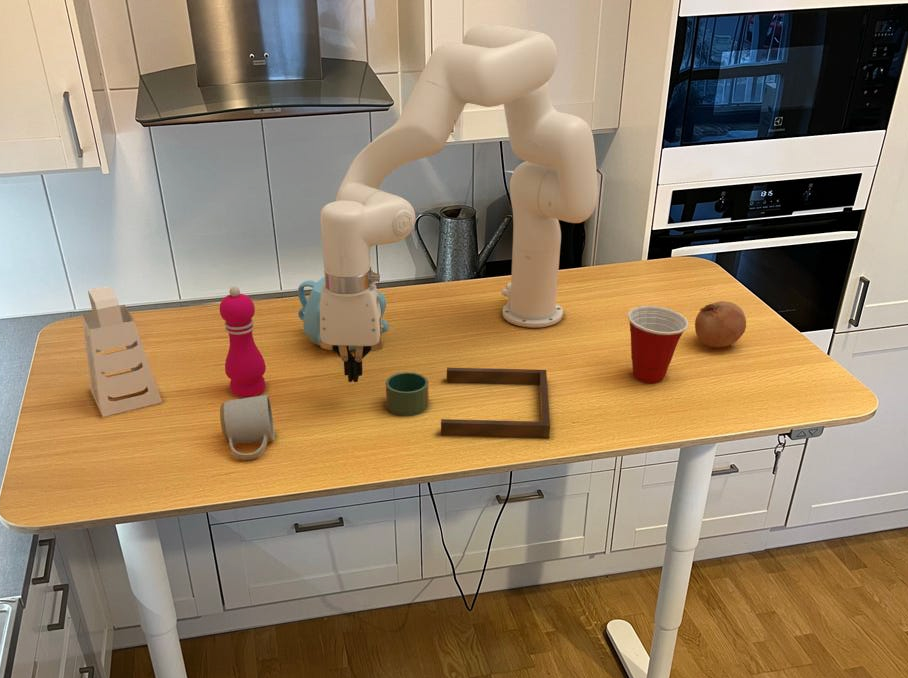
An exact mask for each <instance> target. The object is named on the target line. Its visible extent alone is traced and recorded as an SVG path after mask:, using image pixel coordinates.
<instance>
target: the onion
mask: <svg viewBox="0 0 908 678" xmlns="http://www.w3.org/2000/svg"><path fill="white" fill-rule="evenodd" d="M699 310H700V311H699V312H698V313H697V314H696V317H695V321H694V330H695V331H694V332H695V334H696V337H697V338H698V340H699V341H700V342H701V343H702V344H704V345H705V346H706V347H708V348H711V349H713V348H714V349H716V348H717V349H719V348H726V347H731V346H732V345H733V344H735V343H736V342H737V341H738V340H739V339H741V337H742V336H743V335H744V333H745V332H746V329H747V318H746V314H745V313H744V311H743V309H742V308H741V306H739V305H737V304H736V303H734V302H731V301H716V302H712V303H709V304H705V306H702V308H700V309H699Z"/></svg>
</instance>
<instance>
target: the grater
mask: <svg viewBox="0 0 908 678" xmlns="http://www.w3.org/2000/svg"><path fill="white" fill-rule="evenodd" d="M87 294H88V298H89V301H90V302H89V303H90V306H91V307H90V308H91V311H87V312H82V313H81V318H82V328H83V334H84V336H83V337H84V344H85V351H86V361H87V369H88V376H89V385H90V392H91V394H92V396H93V398H94V401H95V404H96V405H97V407H98V410H99V412H100V414H101V417H102V418H104V417H107V416H113V415H117V414H121V413H125V412H129V411H132V410H136V409H140V408H146V407H149V406H153V405H159V404H161V403H163V401H162V397H161V395H160V392H159V389H158V386H157V383H156V380H155V377H154V374H153V372H152V368H151V365H150V363H149V360H148V357H147V354H146V351H145V348H144V345H143V342H142V339H141V337H140V333H139V330H138V328H137V325H136V322H135V320H134V318H133V315H132V314H131V313H130V311H129V309H128V308H127V306H126V305H125V304H120V303H119V300H118V297H117V295H116V293H115V292H114V290H113V288H112V286H111V285H107V286H101V287H96V288H92V289H91V288H90V289H88V290H87ZM123 347H125V348H126V349H121V350H117V351H113V352H108V353H103V354H98V353H101V352H105V351H110V350H114V349H119V348H123ZM128 369H129V370H128ZM124 370H127V371H124ZM121 371H122V372H121ZM123 371H124V372H123ZM116 372H118V373H116ZM112 373H115V374H112ZM103 374H110V375H105V376H103ZM146 388H147V392H144V394H140V395H135V396H132V397H128V398H124V399H120V400H119V399H118V400H114V401H113V400H109V397H111V398H114V399H115V398H119V397H123V396H128V395H132V394H135V393H140V392H143V391H144V390H145V389H146Z"/></svg>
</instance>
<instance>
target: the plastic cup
mask: <svg viewBox="0 0 908 678" xmlns="http://www.w3.org/2000/svg"><path fill="white" fill-rule="evenodd" d="M627 318H628V321H629V332H630V352H631V353H630V354H631V365H632V367H631V369H632V375H633V377H634V378H635V380H636V381H639V382H641V383H645V384H657V383H661V382H662V381H664V379H665V377H666V375H667V373H668V369H669V366H670V364H671V362H672V359H673V356H674V354H675V351H676V348H677V345H678V342H679V341H680V339H681V337H682V335H683V333H684V332H686V330H687V329H688V326H689V322H688V319H687V317H685V316H684V315H683V314H681V313H680V312H677V311H675V310H673V309H670V308H666V307H662V306H657V305H656V306H655V305H641V306H636V307H634V308H631V309H630V310H629V312H628V313H627Z"/></svg>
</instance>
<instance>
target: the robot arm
mask: <svg viewBox="0 0 908 678" xmlns="http://www.w3.org/2000/svg"><path fill="white" fill-rule="evenodd" d="M557 64H558V50H557V46H556V44H555V42H554V41H553V39H552V37H550V36H549V35H547V34H546V33H544V32H541V31H536V30H530V29H524V28H517V27H512V26H506V25H500V24H494V23H487V22H485V23H484V22H483V23H478V24H476V25H474V26H471V27H470V28H469V29H468V30H467V31H466V33H465V35H464V37H463V40H462V43H460V42H447V43H442V44H441V45H439V46H437V47H436V48H435V49H434V50H433V51H432V53H431V54H430V56H429V58H428V60H427V62H426V63H425V66H424V67H423V70H422V72H421V74H420V76H419V78H418V79H417V82H416V84H415V86H414V88H413V90H412V92H411V94H410V96H409V98H408V100H407V102H406V104H405V106H404V108H403V110H402V112H401V113H400V116H398V117H399V118H398V119H397V121H396V122H395V124H393V125H392V126H391V127H390V128H388V129H386V130H385V131H383V132H381V134H379V135H378V136H377V137H376V138H374V139H373V140H372V141H371V142H370V143H369V144H367V145H366V146H365V147H364V148H363V149H362V150H361V151H360V152H359V153H358V154H357V155H356V157H355V158H354V159H353V161H352V162H351V164H350V165H349V168H348V170H347V172H346V174H345V175H344V177H343V180H342V181H341V184H340V187H339V189H338V191H337V194H336V197H335V198H336V199H335V201H332V202H329V203H326V204H325V205H324V206H323V207H322V209H321V211H320V215H319V216H320V217H319V218H320V234H321V247H322V260H323V272H324V273H323V274H324V277H325V283H324V284H323V285H322V291H321V299H320V335H321V345H319V346H320V348H321V349H323V350H327V351H328V350H329V351H332V352H334V353H335V354H336V355H337V356H339V358H340V359H341V361H342V362H343V371H344V374H343V375H344V376H347V382H348V383H352V382H353V383H358V382H359V379H360V377H362V376H363V373H364V372H363V371H364V370H363V369H364V368H363V358H365V357H366V356H367V355H368V354H369V353H370V352H376V351H381V350H383V348H384V342H383V338H382V334H383V333H382V327H383V325H382V320H383V319H382V320H381V309H380V302H379V296H378V291H379V290H378V289H377V284H375V283H376V282H378V283H379V282H380V279H381V278H380V277H381V274H380V272H373V270H372V266H371V253H370V252H371V249H370V248H372V247H374V246H380V245H382V246H383V245H390V244H395V243H398V242H400V241H402V240H404V239H406V238H407V237H408V236H409V235H410V234H411V232H412V231H413V229H414V227H415V224H416V212H415V210H414V206H413V205H412V203H410V202H409V201H408V200H406V199H405V198H404V197H401V196H399V195H396V194H392V193H390V192H387V191H384V190H382V189H379V188H380V186H381V184H382V183H383V181H384V180H385V179H386V178H387V177H388V176H389V174H391V173H392V172H393V171H394V170H396V169H398V168H399V167H402V166H403V165H405V164H408V163H411V162H414V161H417V160H421V159H424V158H427V157H431V156H434V155H437V154H438V153H440V152H441V151H443V149H444V148H445V146H446V144H447V143H448V142H447V141H448V140H449V138H450V135H451V133H452V131H453V130H454V128H455V125H456V124H457V122H458V120H459V118H460V117H461V114H462V112H463V110H464V108H465V106H466V105H467V104H470V105H476V106H479V107H485V108H492V107H498V106H500V105H503V109H504V115H505V120H506V122H505V123H506V127H507V128H506V129H507V134H508V138H509V139H508V140H509V144H510V148H511V152H512V153H513V154H514V156H515V157H516V158H518V159H520V160H522V161H524V162H521V163H520V164H518V165H517V167H515V169H514V171H513V172H512V174H511V177H510V180H509V196H510V203H511V210H512V223H513V225H512V226H513V229H512V230H513V231H512V253H511V254H512V255H511V277H510V280H511V281H510V282H508V283H507V284H506V286H505V288H502V289H501V292H500V293H501V295H502V296H504V297H507V303H506V304H505V305H504V306H503V307H502V314H501V315H502V317H503V318H504V320H505V321H507V322H508V323H510V324H512V325H515V326H518V327H523V328H531V329H532V328H534V329H535V328H536V329H537V328H547V327H550V326H553V325H555V324H558V323H559V322H561V321H562V319H563V317H564V310H563V308H562V307H561V305H559V304H558V303H557V298H558V297H557V296H558V283H559V281H558V280H559V271H560V270H559V269H560V255H561V244H562V230H561V224H560V221H562V222H565V223H570V224H581V223H583V222H585V221H587V220H588V219H589V218H591V216H592V215H593V213H594V212H595V209H596V206H597V202H598V197H599V183H598V181H599V179H598V171H597V170H598V169H597V159H596V158H597V157H596V148H595V146H596V145H595V139H594V135H593V132H592V129H591V127H590V125H589V124H588V123H587V121H585V120H584V119H583V118H582V117H579V116H577V115H575V114H570V113H565V112H560V111H558V110H557V109H555V107H554V105H553V101H552V95H551V89H550V85H549V84H550V83H549V81H550V79H551V78H552V76H553V75H554V73H555V71H556V68H557ZM349 346H356V350H355V353H354V355H353V353H352V352H351V350H350V348H349Z"/></svg>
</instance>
